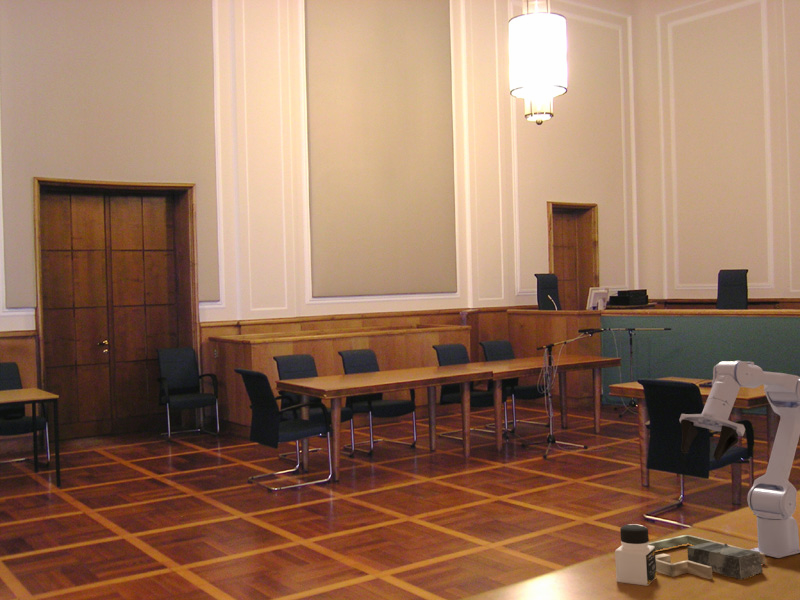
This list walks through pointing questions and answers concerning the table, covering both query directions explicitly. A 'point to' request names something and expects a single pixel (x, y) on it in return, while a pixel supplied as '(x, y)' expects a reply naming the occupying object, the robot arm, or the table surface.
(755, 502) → the robot arm
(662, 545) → the trap lane
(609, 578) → the table surface
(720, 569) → the stone block
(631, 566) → the medicine bottle
